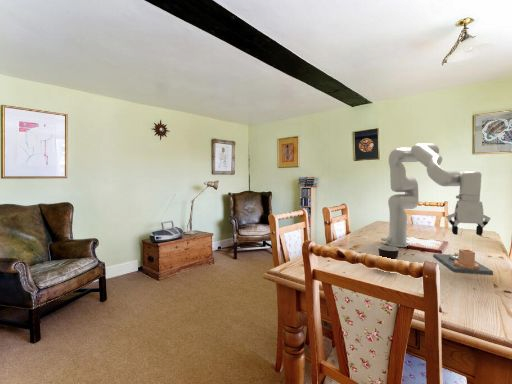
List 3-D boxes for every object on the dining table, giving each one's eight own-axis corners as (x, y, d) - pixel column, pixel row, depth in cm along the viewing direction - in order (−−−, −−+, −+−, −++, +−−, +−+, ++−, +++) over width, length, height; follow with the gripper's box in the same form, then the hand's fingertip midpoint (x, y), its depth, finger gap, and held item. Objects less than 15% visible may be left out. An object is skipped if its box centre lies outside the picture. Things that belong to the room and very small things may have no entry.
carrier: (454, 272, 122) (454, 256, 121) (433, 256, 144) (433, 243, 144) (492, 274, 118) (493, 259, 118) (465, 258, 141) (465, 245, 140)
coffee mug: (390, 273, 121) (390, 251, 120) (373, 267, 129) (374, 247, 128) (406, 268, 126) (406, 248, 126) (389, 263, 134) (390, 243, 133)
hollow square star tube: (459, 268, 122) (459, 253, 122) (448, 261, 132) (449, 247, 131) (485, 270, 120) (486, 254, 119) (472, 262, 130) (473, 248, 129)
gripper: (451, 198, 122) (449, 235, 124) (496, 199, 118) (493, 237, 120) (444, 197, 129) (442, 231, 131) (486, 197, 125) (483, 233, 127)
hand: (466, 234), depth 125 cm, fingers open, 9 cm apart
